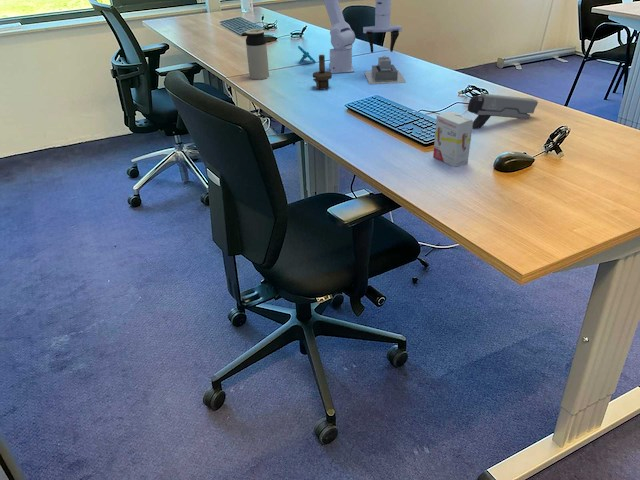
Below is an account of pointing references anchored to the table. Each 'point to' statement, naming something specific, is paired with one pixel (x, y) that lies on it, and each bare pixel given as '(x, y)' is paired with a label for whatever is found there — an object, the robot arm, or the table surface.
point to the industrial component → (322, 75)
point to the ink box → (452, 138)
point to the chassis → (384, 76)
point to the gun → (499, 107)
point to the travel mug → (257, 54)
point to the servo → (384, 64)
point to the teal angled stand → (305, 55)
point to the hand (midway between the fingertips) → (381, 51)
